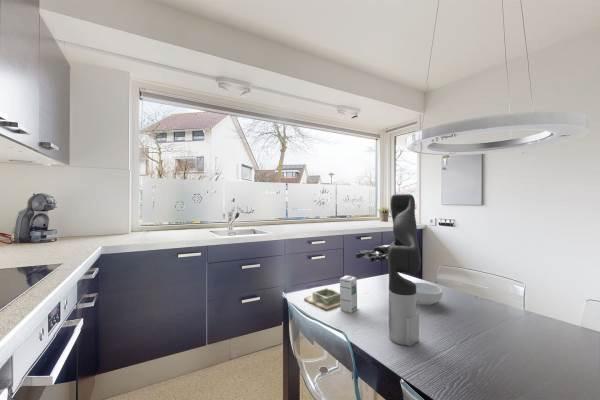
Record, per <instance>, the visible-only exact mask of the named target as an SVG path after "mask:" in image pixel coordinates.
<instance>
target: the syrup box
mask: <svg viewBox="0 0 600 400" xmlns="http://www.w3.org/2000/svg"><path fill="white" fill-rule="evenodd" d="M357 285H358V284H357V277H356V276H352V275H344V276H342V277H340V278H339V293H340V306H339V308H340V310H341V311H342V312H343V311H344V312H348V313H353V312H354V311H356V310H357V309H358V294H357V293H358V290H357V289H358V286H357Z"/></svg>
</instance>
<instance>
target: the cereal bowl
mask: <svg viewBox="0 0 600 400" xmlns="http://www.w3.org/2000/svg"><path fill="white" fill-rule="evenodd" d="M413 283H414V284H415V285H416V305H421V306H430V305H432V304H434V305H435V304H437V303H439V302H440V301H441V300H442V298H443V288H441V287H439V286H438V285H435V284H430V283H425V282H413Z"/></svg>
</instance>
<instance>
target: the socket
mask: <svg viewBox="0 0 600 400" xmlns="http://www.w3.org/2000/svg"><path fill="white" fill-rule="evenodd" d="M303 300H304V301H305V302H307V303H309V304H312V305H313V306H316V307H318V308H319V309H322V310H324V311H331V310H333V309H335V308H338V307H340V291H336V290H333V289H331V288H328V287H326V288H323V289H319V290H315V291H313V292H312V295H310V296H306V297H304V298H303Z"/></svg>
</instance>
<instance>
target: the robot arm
mask: <svg viewBox="0 0 600 400" xmlns="http://www.w3.org/2000/svg"><path fill="white" fill-rule="evenodd" d="M415 209H416V201H415V197H414V195H413V194H411V193H410V194H409V193H408V194H407V193H406V194H405V193H395V194H392V195H391V196H390V212H391V219H392V224H393V225H392V232H393V235H394V236H393V238H394V241H393V242H391V243H390V244H384V245H380V246H375V247H374V248H373V249H372V250H367V249H363V250H359V251H358V253H356V254H355V258H356V259H361V258H365V259H370V262H372V263H373V262H381V263H382V262H385V261H387V263H388V264H387V265H388V337H389V339H390V341H392V342H394V343H396V344H398V345H402V346H407V347H412V346H413V345H415V344H416V343H417V342H419V341H420V315H419V313H417V303H416V285H415V284H414V283H415V282H414V281H412V280H410V279H406V278H405V277H403V276H402V275H401V274H399V273H406V274H415V273H416V274H417V273H419V271H420V270H421V266H422V265H421V264H422V259H421V253H420V248H419V247H420V246H419V243H418V230H417V229H418V227H417V220H416V214H415V213H416V210H415Z"/></svg>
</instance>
